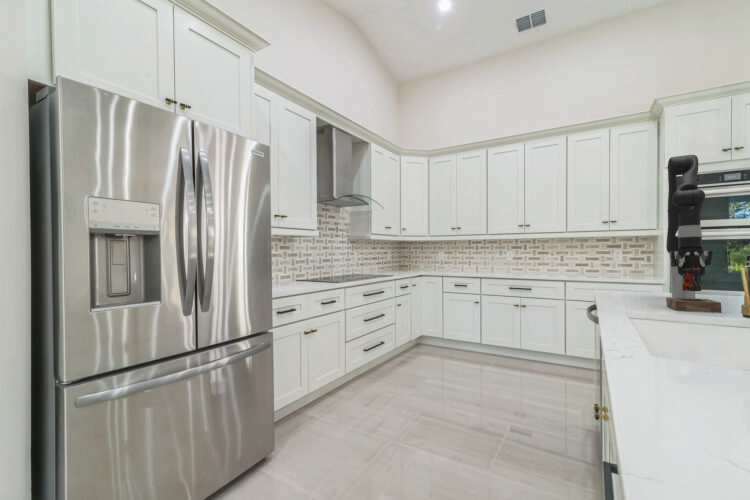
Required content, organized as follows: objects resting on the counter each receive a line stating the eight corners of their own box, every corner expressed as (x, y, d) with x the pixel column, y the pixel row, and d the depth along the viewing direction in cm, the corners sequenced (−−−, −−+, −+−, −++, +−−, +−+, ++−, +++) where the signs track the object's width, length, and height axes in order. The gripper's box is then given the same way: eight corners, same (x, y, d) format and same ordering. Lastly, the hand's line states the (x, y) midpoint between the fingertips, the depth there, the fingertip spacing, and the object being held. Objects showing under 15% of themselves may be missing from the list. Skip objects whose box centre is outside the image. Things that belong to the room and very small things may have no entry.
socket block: (666, 306, 157) (666, 297, 157) (707, 308, 151) (706, 298, 151) (676, 310, 145) (676, 301, 145) (721, 312, 138) (721, 302, 138)
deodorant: (705, 291, 145) (704, 255, 145) (690, 291, 145) (689, 255, 145) (692, 289, 151) (691, 255, 151) (678, 290, 151) (677, 255, 151)
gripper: (708, 236, 149) (709, 275, 148) (665, 237, 155) (667, 274, 155) (715, 235, 142) (717, 276, 141) (671, 236, 148) (672, 275, 148)
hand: (691, 275), depth 148 cm, fingers closed on deodorant, 6 cm apart
